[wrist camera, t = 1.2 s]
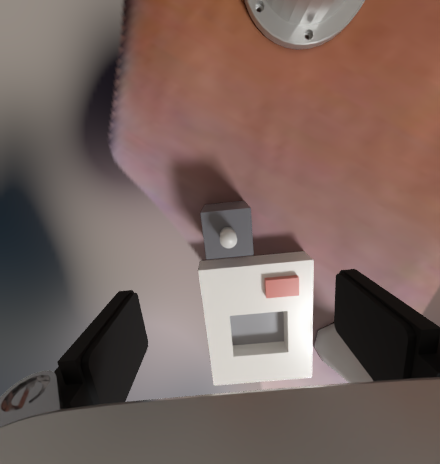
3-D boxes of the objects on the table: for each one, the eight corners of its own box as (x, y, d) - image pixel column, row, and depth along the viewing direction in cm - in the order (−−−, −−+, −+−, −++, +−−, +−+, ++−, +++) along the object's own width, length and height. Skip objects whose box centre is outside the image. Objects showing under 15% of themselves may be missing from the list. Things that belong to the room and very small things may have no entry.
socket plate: (200, 261, 29) (197, 273, 25) (304, 251, 29) (316, 262, 25) (214, 367, 34) (213, 390, 30) (304, 359, 33) (314, 382, 30)
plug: (204, 204, 27) (198, 216, 19) (244, 200, 27) (253, 211, 19) (209, 242, 28) (205, 267, 21) (246, 238, 28) (256, 262, 20)
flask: (360, 316, 31) (422, 379, 22) (362, 355, 33) (421, 430, 23) (310, 325, 32) (350, 391, 22) (315, 363, 34) (354, 440, 24)
